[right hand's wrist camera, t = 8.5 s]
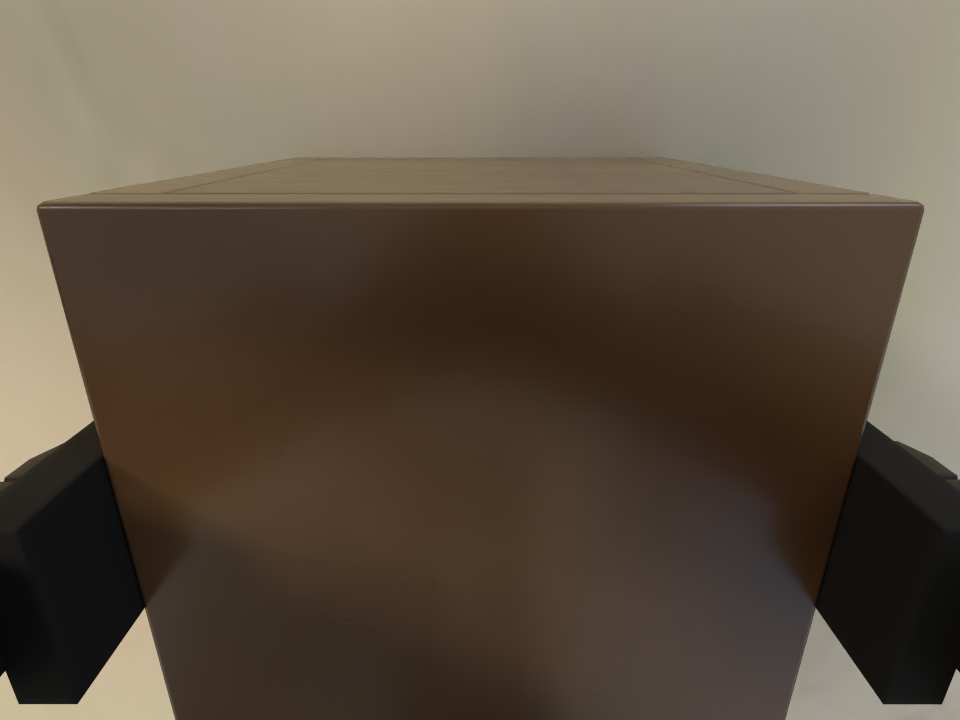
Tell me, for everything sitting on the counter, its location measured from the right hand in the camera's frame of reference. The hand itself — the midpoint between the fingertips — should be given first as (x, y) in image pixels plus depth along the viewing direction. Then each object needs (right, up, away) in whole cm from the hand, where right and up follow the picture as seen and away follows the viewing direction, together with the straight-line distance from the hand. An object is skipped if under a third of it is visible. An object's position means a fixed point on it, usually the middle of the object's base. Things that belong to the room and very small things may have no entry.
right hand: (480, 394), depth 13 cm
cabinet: (0, -3, +7) cm, 7 cm away
